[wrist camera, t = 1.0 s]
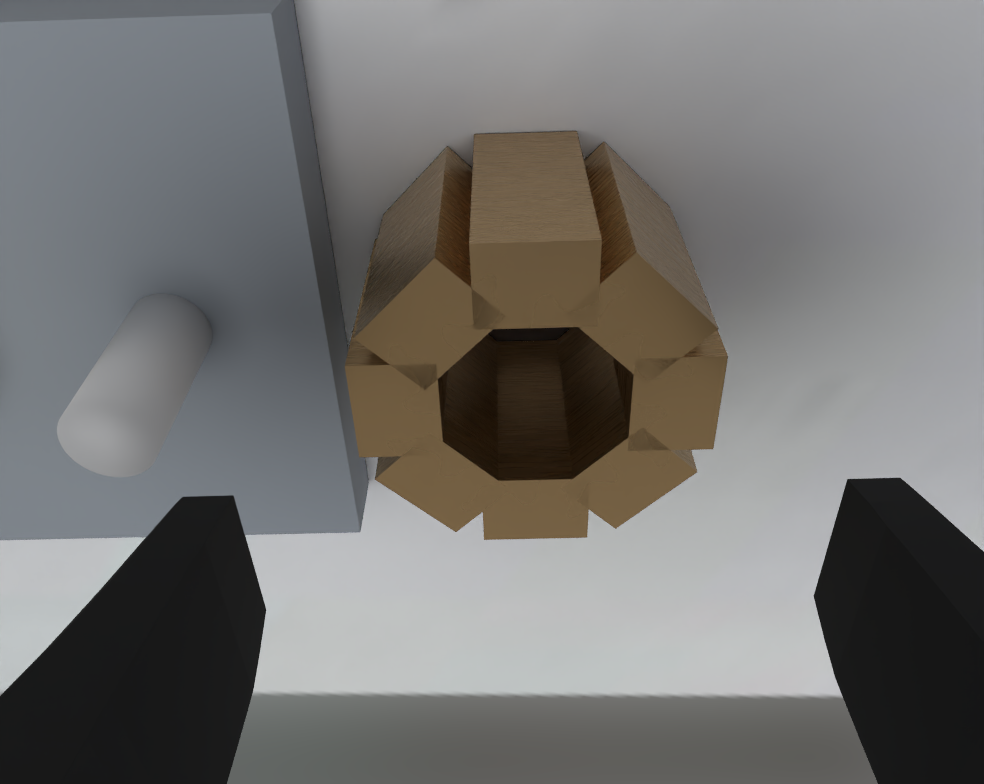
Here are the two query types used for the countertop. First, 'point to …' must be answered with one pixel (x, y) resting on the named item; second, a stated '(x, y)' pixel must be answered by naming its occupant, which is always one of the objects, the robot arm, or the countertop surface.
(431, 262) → the brown segmented ring
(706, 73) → the countertop surface
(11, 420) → the carrier plate
